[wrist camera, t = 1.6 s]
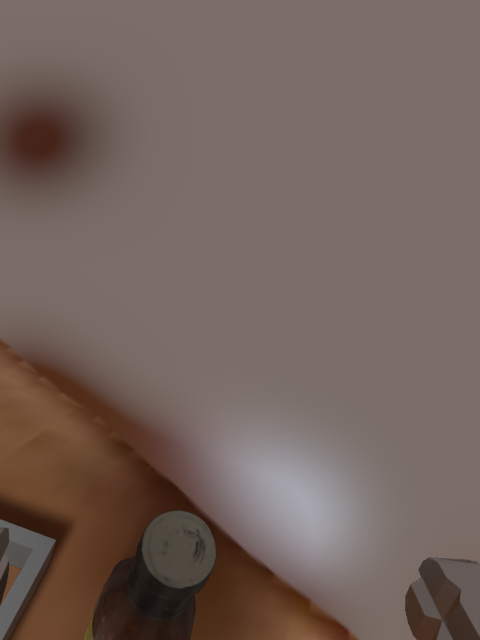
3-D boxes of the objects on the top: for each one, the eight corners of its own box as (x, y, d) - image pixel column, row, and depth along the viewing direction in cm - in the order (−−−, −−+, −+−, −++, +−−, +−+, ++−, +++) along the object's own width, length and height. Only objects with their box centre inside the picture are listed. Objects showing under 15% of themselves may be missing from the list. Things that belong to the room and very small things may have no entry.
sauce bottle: (170, 665, 35) (268, 552, 24) (111, 751, 30) (200, 659, 19) (114, 603, 37) (181, 471, 26) (49, 675, 32) (97, 550, 21)
